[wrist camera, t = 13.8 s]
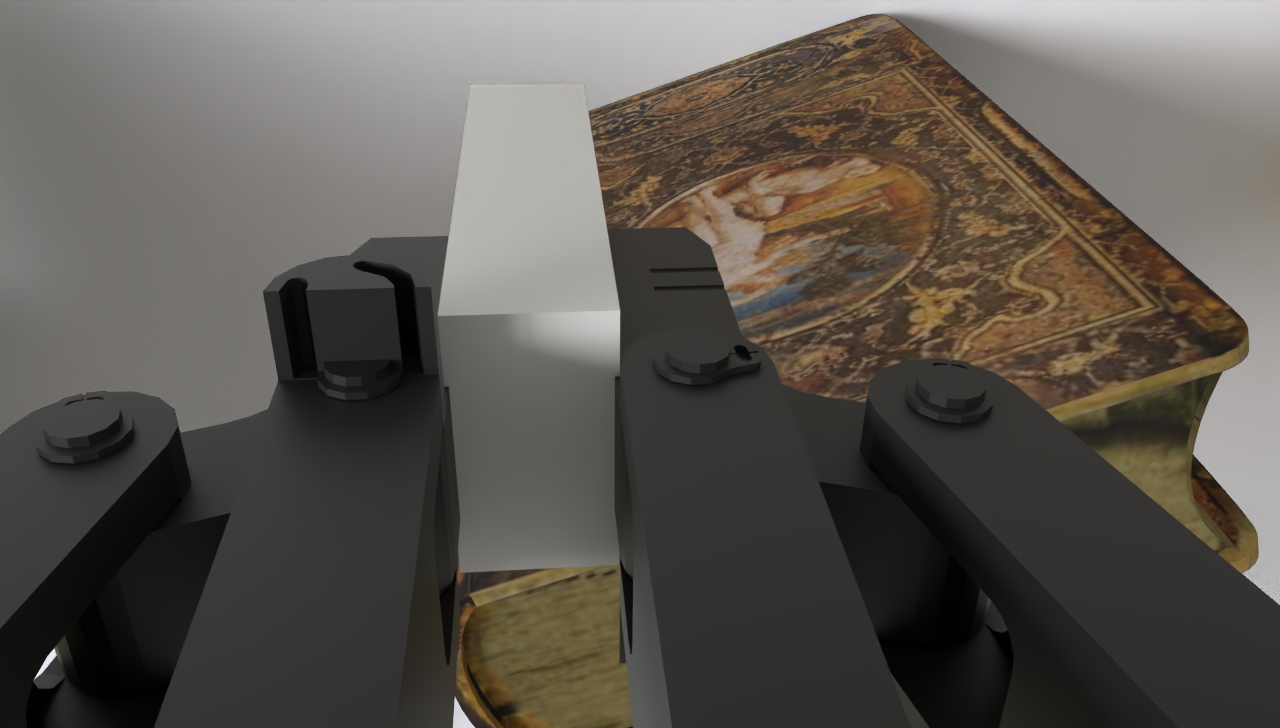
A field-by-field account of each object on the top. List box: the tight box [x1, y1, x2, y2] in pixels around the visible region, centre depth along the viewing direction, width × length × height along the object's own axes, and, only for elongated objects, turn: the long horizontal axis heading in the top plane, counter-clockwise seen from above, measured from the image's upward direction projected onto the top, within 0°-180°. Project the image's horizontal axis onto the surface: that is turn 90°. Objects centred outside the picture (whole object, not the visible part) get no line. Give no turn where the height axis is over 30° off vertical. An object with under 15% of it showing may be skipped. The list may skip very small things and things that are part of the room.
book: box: [455, 14, 1259, 728], centre depth 32 cm, size 16×6×25 cm, turn 108°
